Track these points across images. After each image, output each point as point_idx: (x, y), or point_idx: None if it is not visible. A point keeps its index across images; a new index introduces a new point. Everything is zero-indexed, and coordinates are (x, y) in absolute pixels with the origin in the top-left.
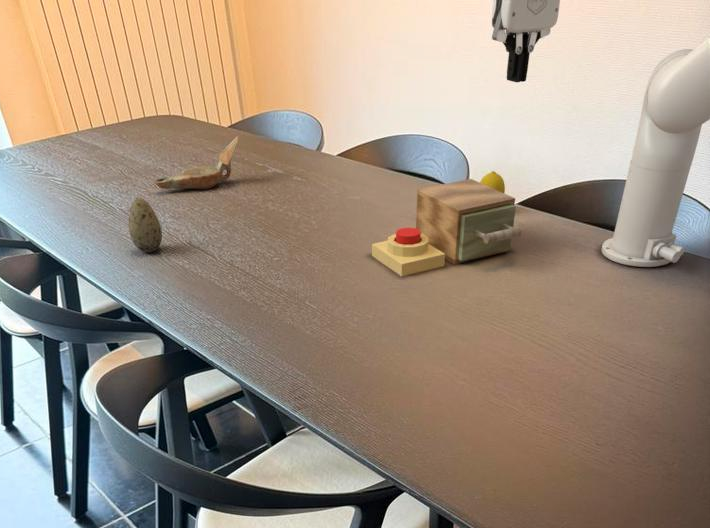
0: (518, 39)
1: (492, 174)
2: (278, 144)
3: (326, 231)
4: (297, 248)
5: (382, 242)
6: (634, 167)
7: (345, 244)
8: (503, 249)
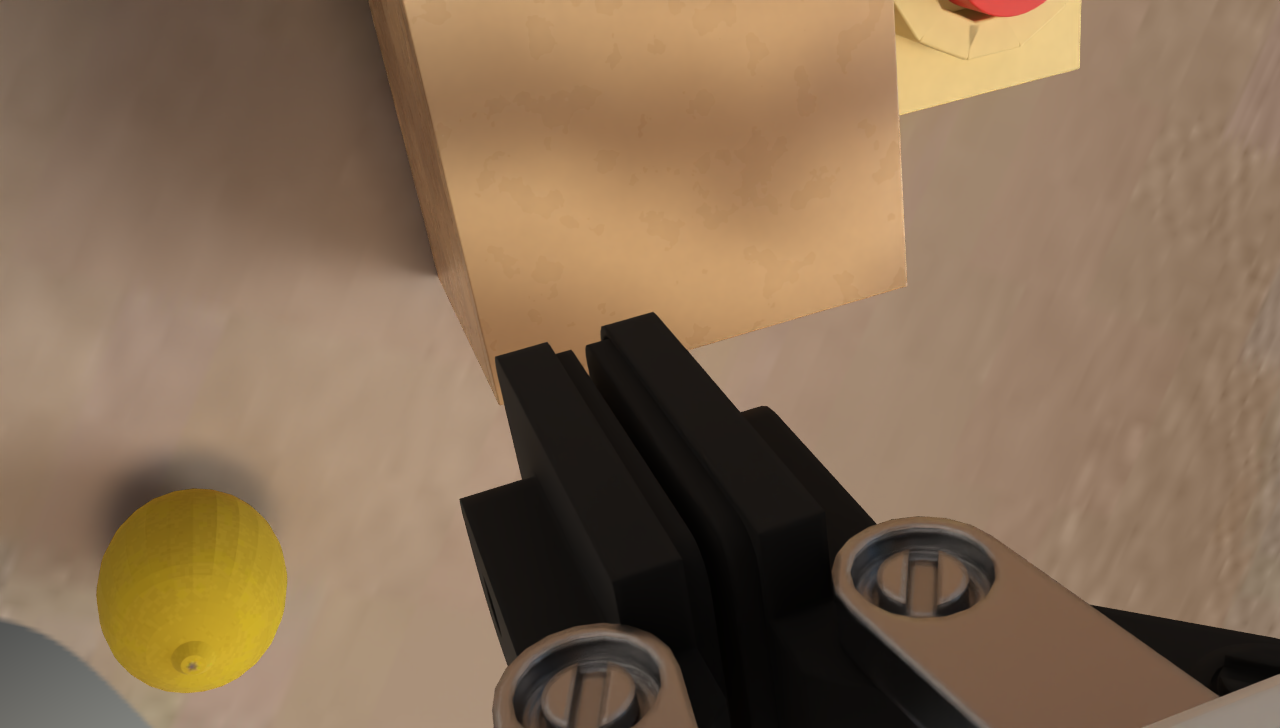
0: (1111, 691)
1: (204, 640)
2: None
3: (1071, 416)
4: (1251, 253)
5: (1029, 69)
6: None
7: (1072, 241)
8: None
